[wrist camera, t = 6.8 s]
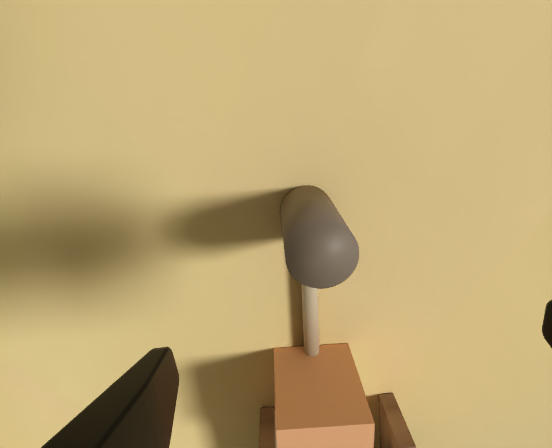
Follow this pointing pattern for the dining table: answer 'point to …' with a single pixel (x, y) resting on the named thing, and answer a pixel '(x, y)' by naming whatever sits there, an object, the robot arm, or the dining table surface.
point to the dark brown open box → (393, 427)
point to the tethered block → (313, 357)
